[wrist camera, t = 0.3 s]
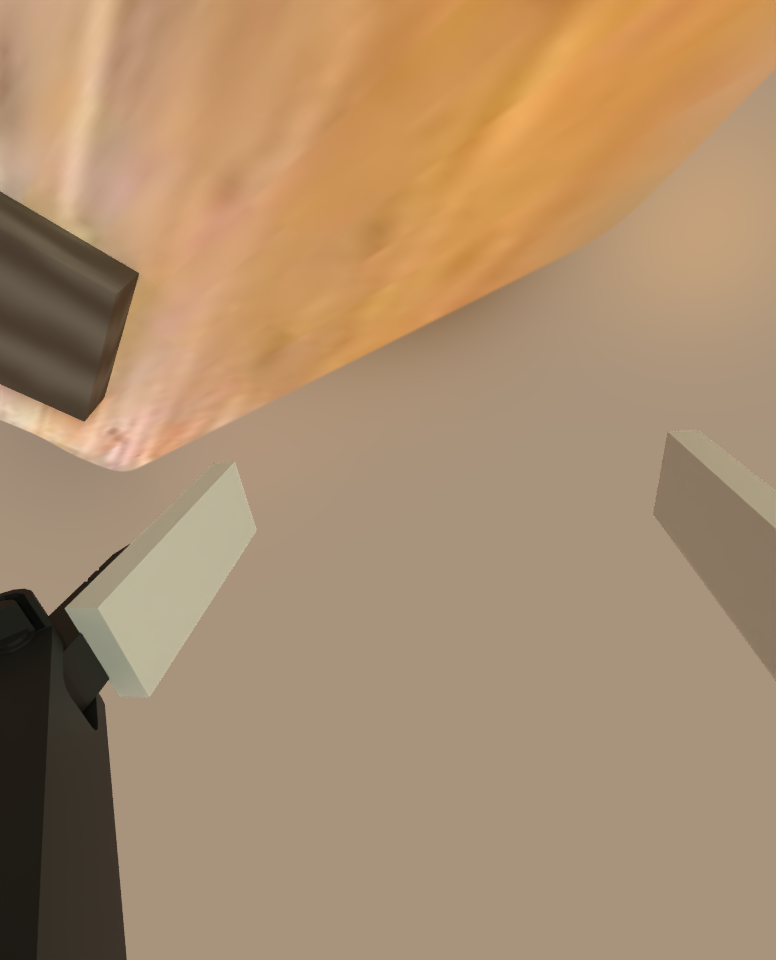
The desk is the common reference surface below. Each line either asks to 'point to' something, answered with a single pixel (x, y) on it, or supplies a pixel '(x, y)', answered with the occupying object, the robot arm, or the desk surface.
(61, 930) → the robot arm
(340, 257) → the desk surface
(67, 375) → the stand
